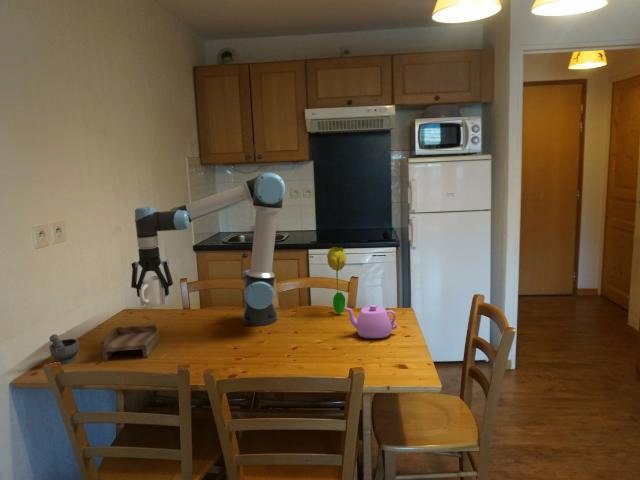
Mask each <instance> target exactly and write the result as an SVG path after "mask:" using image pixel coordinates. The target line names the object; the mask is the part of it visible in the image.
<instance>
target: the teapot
mask: <svg viewBox="0 0 640 480" xmlns="http://www.w3.org/2000/svg"><path fill="white" fill-rule="evenodd" d="M344 310H346V311H347V312H348V315H349V319H350V323H351V325H352V326H353V327H354V328H355V329H356V333H357V335H359V337H360V338H361V337H362V338H365V339H384V338H387V337H389V336H390V334H391V333H392V331H393V330H396V329H398V325H397V323H395V321H396V318H397V315H396V312H395V311H394V310H392V309H388V310H387V309H386V308H385V307H383V306H378V305H376V304H370V305H369V306H366V307H363V308H361V309H360V312H359V314H358V316H357V318H356V317H355V314H354V311H353V309H352V308H350V307H347V306H345V307H344ZM389 313H390V314H392V315H393V316H392V317H393V318H392V320H391V317H390V315H389Z"/></svg>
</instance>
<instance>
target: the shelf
mask: <svg viewBox="0 0 640 480" xmlns="http://www.w3.org/2000/svg"><path fill="white" fill-rule="evenodd" d="M159 340H160V339H159V332H158V325H157V324H150V325H149V324H148V325H136V326H135V325H134V326H133V325H132V326H121V327H120V326H118V327H115V328H114V329H112V330H111V331H110V332H109V333H108V334H107V335H106V336H105V337H104V338H103V339H102V340H101V341H100V347H101V354H102V361H103V362H108V361H109V360H110V358H112V357H113V356H114V355H115V353H116V352H118V351H134V350H141V351H142V358H143V357H148V358H149V356H150V355H151V354H152V352H153V351H154V350H155V349H156V347H157V346H158V345H159V342H160V341H159ZM153 349H154V350H153ZM152 350H153V351H152ZM150 353H151V354H150ZM149 354H150V355H149Z"/></svg>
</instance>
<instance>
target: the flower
mask: <svg viewBox="0 0 640 480" xmlns="http://www.w3.org/2000/svg"><path fill="white" fill-rule="evenodd" d="M346 255H347V254H346V249H344V248H343V247H338V246H333V247H331V248H328V250H327V255H326V256H327V257H326V258H327V264H328V267H329V268H330V269H332V270H333V271H336V275H335V276H336V288H337V289H336V291H337V292H336V293H335V294H334V295H333V298H332V306H333V310H334V312H335V313H337V314H339V315H341V314H342V313H344V311H345V308H344V307H346V297H345V295H344V294H343V293H342V292H341V291H340V292H339V279H338V278H339V274H338V273H339V271H342V270H343V268H344V267H345V266H346V263H347V262H346V261H347V256H346Z"/></svg>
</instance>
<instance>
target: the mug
mask: <svg viewBox="0 0 640 480" xmlns="http://www.w3.org/2000/svg"><path fill="white" fill-rule="evenodd" d="M163 287H164V286H163V285H162V283H161V281H160V279H159V278H158V276H157V275H149V276H147V277H146V276H145V277H144V280H142V287H141V291H140V297H141V300H142V301H143V302H144V303H145V304H144V305H145V306H148V307H156V306H157V307H158V306H161V305H164V303H163V293H162V288H163ZM140 297H139V298H140Z"/></svg>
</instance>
